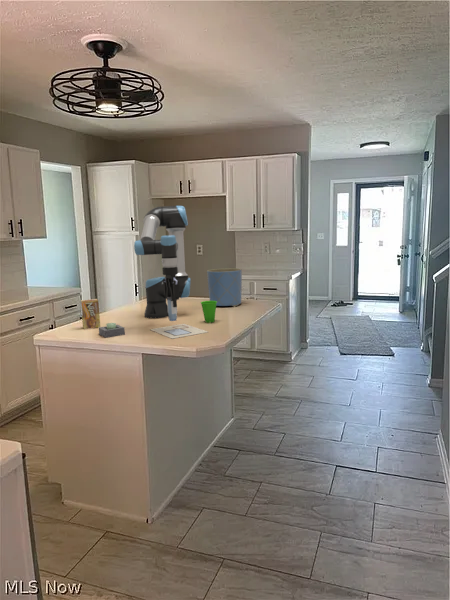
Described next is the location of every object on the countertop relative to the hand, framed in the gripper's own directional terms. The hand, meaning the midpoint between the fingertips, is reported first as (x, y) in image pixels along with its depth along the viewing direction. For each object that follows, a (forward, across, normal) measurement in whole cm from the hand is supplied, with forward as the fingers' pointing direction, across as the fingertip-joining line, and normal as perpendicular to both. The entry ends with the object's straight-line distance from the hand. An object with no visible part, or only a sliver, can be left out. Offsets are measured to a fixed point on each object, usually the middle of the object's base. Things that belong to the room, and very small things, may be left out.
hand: (172, 312), depth 231 cm
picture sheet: (+10, +1, +2) cm, 10 cm away
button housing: (+10, -16, -27) cm, 33 cm away
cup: (+10, -8, +26) cm, 29 cm away
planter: (+9, -47, +62) cm, 78 cm away
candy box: (+10, -40, -30) cm, 51 cm away
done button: (+8, -16, -27) cm, 32 cm away
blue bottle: (+4, 0, 0) cm, 4 cm away
